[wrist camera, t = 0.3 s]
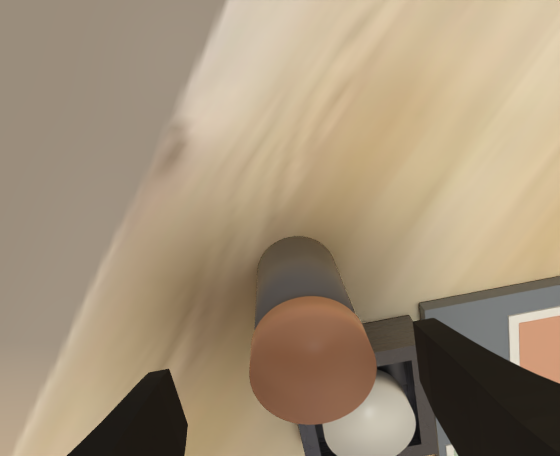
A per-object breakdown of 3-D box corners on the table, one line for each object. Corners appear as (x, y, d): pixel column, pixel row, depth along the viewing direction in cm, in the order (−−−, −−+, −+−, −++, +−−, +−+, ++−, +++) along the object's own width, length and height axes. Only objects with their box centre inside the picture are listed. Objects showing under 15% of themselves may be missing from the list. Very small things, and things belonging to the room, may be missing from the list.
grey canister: (343, 301, 22) (384, 412, 14) (264, 316, 22) (264, 434, 15) (330, 226, 21) (368, 305, 13) (247, 243, 21) (236, 330, 13)
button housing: (420, 416, 25) (438, 453, 22) (305, 437, 25) (310, 476, 22) (409, 315, 22) (426, 342, 20) (283, 339, 23) (285, 369, 20)
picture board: (663, 471, 26) (677, 484, 25) (441, 510, 27) (447, 524, 26) (688, 251, 22) (706, 258, 21) (419, 303, 22) (425, 312, 21)
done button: (409, 430, 22) (419, 455, 21) (327, 445, 22) (331, 471, 21) (400, 360, 21) (410, 382, 19) (313, 377, 21) (316, 399, 20)
